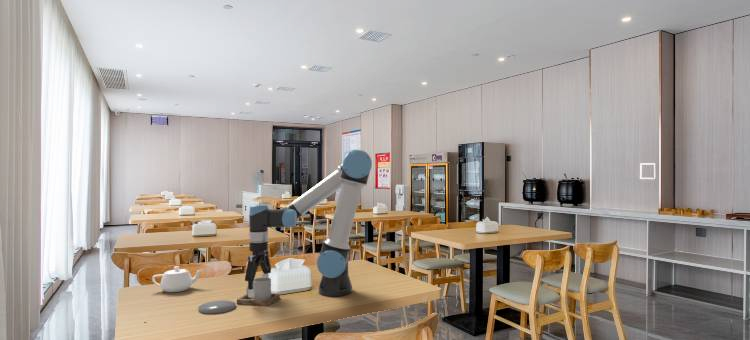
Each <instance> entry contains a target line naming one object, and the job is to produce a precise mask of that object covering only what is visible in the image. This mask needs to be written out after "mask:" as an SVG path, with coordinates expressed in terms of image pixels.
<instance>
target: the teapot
mask: <svg viewBox="0 0 750 340" xmlns="http://www.w3.org/2000/svg"><path fill="white" fill-rule="evenodd" d="M202 271H203V269H199V270H197V271H196V274H195V275H194V276H193V277H192V275H191V273H190V270H189V269H186V268H180V266H177V265H176V266H174V267H173V269H169V270H167V271H164V273H162V274H160V273H159V274H154V275H153V276H151V281H152V283H154V284H155V285H156V286H158V287H160V288H161V289H162V291H164V292H167V293H179V292H180V293H181V292H185V291H186V290H188V289H189V288H191V286H192V285H193V284H194V283H196V282H197V281H198V279H199V275H200V273H201V272H202ZM157 277H161V280H160V283H159V282H157V281H156V279H155V278H157Z"/></svg>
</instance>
